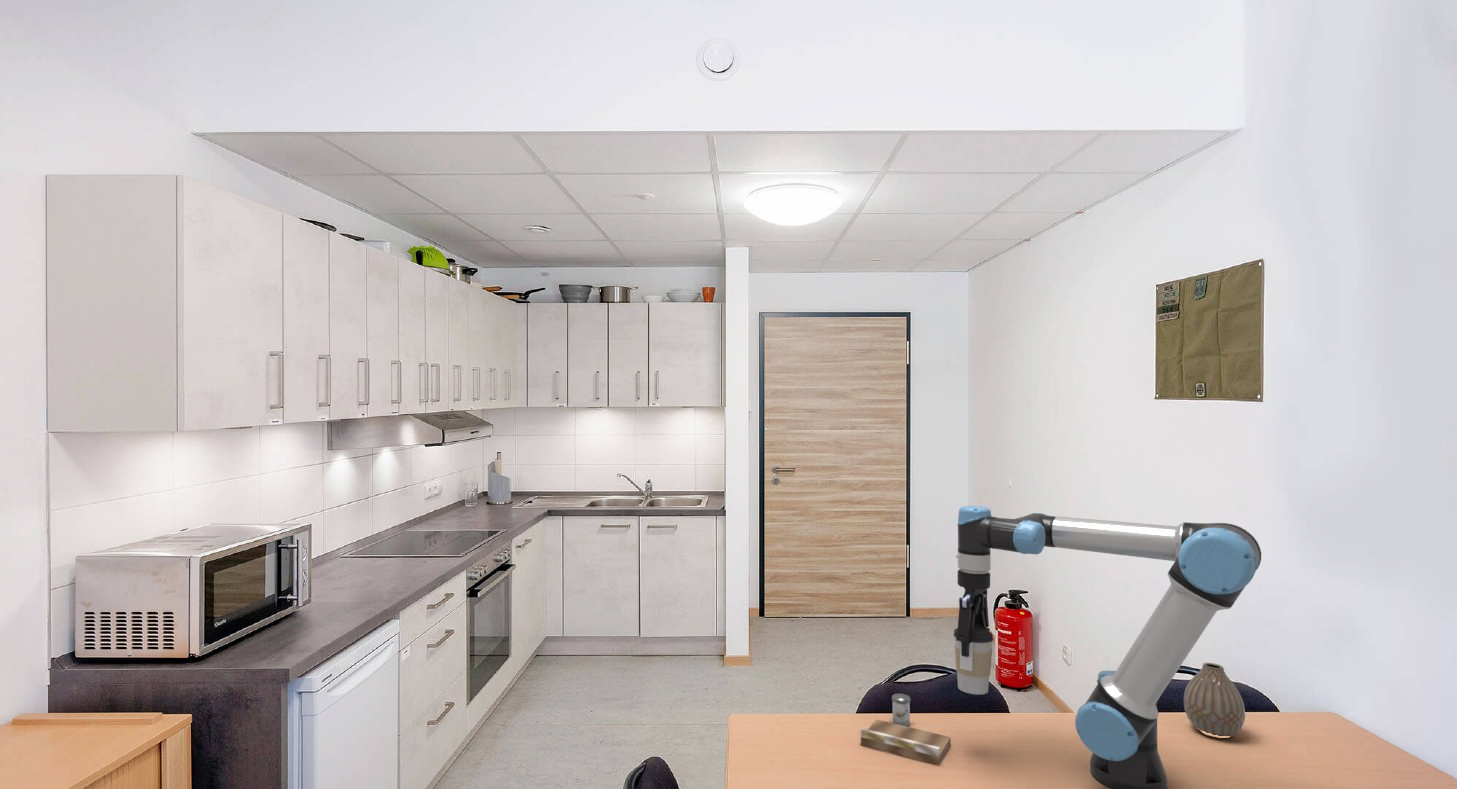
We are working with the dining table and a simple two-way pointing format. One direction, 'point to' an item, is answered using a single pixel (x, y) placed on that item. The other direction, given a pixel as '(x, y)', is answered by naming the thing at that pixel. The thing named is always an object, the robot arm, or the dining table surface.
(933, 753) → the small brown box
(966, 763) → the dining table surface
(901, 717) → the tea tin
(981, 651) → the coffee cup
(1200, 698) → the vase
